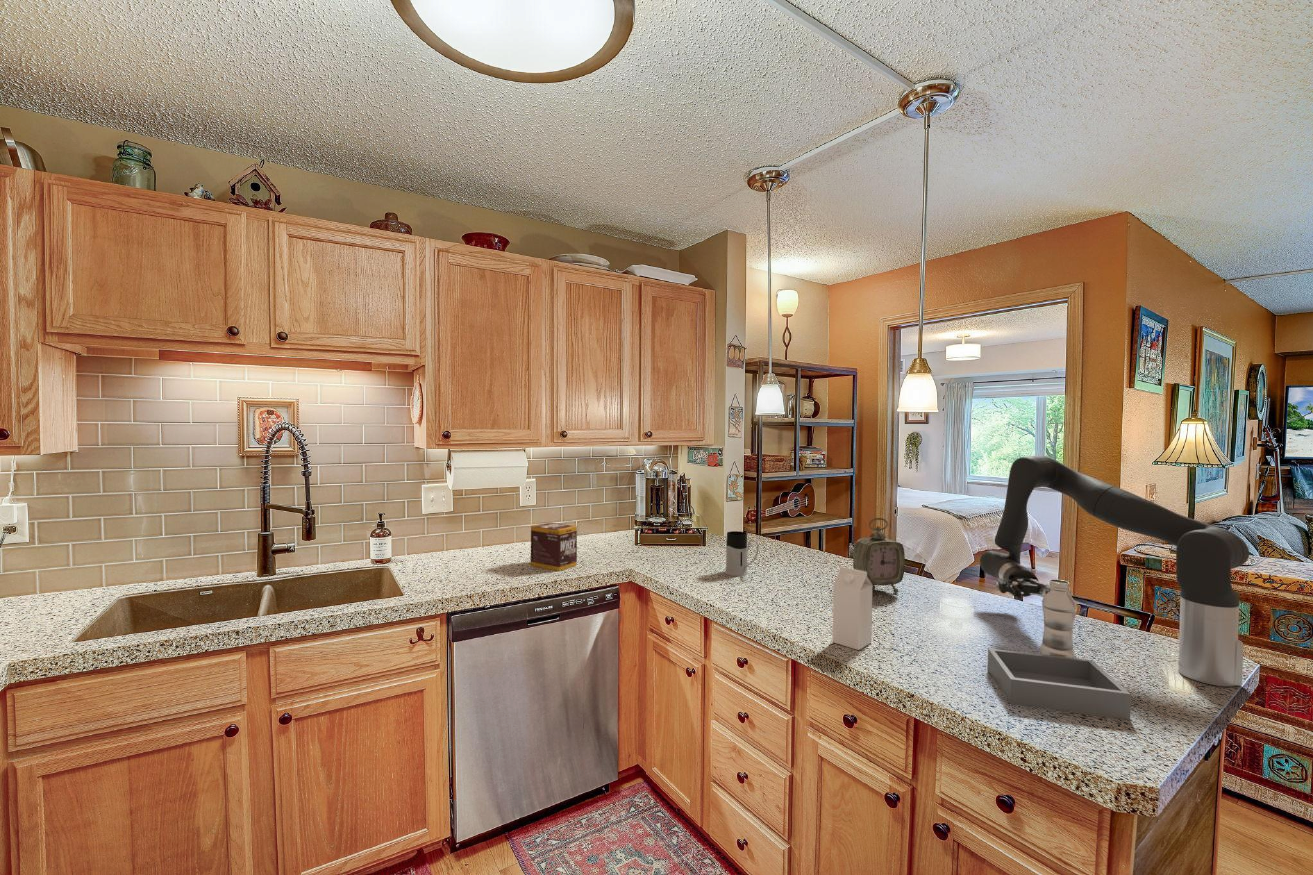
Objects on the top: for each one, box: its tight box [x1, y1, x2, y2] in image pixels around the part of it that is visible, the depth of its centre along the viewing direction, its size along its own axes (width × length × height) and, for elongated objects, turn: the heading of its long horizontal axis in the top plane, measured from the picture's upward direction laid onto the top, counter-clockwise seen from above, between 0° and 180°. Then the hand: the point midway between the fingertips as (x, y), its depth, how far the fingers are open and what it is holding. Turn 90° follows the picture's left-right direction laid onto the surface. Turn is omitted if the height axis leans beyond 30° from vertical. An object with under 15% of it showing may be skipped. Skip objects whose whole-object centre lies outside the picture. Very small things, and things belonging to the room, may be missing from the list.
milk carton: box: [832, 566, 873, 651], centre depth 141 cm, size 7×7×19 cm
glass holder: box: [724, 530, 760, 577], centre depth 205 cm, size 9×14×15 cm, turn 43°
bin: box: [987, 648, 1132, 721], centre depth 116 cm, size 20×16×5 cm
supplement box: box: [529, 522, 578, 572], centre depth 216 cm, size 10×15×16 cm
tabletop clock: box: [852, 517, 906, 594], centre depth 185 cm, size 14×9×25 cm, turn 102°
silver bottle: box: [1039, 578, 1078, 658], centre depth 128 cm, size 6×7×20 cm
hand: (1039, 596), depth 139 cm, fingers open, 8 cm apart
